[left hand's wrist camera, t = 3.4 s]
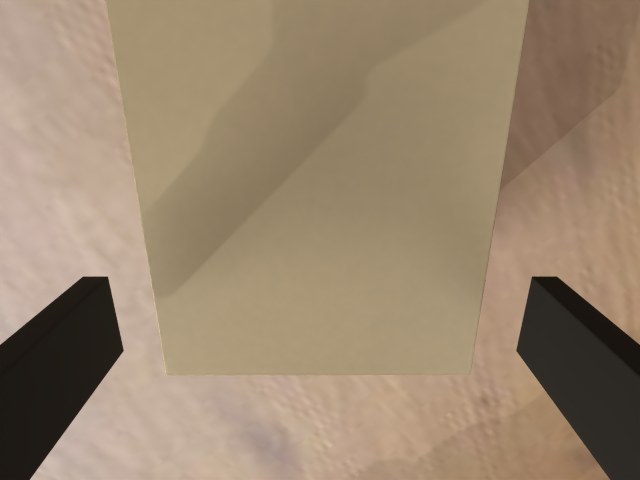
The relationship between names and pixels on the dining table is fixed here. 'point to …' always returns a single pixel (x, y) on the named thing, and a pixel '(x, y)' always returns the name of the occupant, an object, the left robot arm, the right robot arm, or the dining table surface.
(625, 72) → the dining table surface
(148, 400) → the dining table surface
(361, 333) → the cabinet
